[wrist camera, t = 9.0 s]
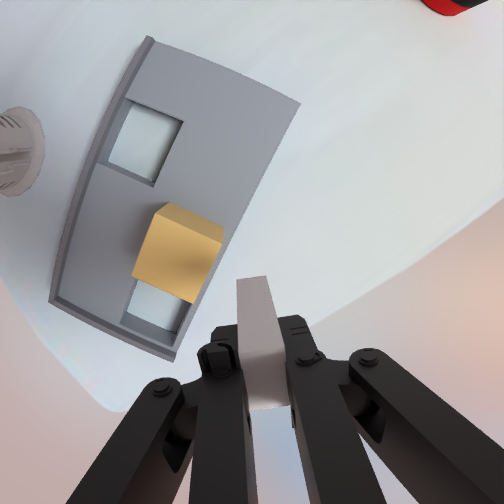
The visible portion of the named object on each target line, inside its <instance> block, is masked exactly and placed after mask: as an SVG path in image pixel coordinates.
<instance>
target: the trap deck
mask: <svg viewBox="0 0 504 504" xmlns="http://www.w3.org/2000/svg"><path fill="white" fill-rule="evenodd" d="M133 102H136V103H139V104H141V105H144V106H146V107H149V108H151V109H154V110H156V111H159V112H161V113H164V114H166V115H168V116H171V117H173V118H176V119H178V120H180V121H183V122H184V123H183V125H182V127H181V129H180V131H179V133H178V135H177V137H176V139H175V141H174V143H173V145H172V147H171V149H170V152H169V154H168V156H167V158H166V160H165V162H164V165H163V167H162V169H161V171H160V174H159V176H158V178H157V180H156V183H154V182H152V181H150V180H148V179H146V178H143V177H141V176H139V175H137V174H134V173H132V172H130V171H128V170H126V169H123V168H121V167H119V166H117V165H114V164H112V163H110V162H108V158H109V156H110V153H111V151H112V148H113V146H114V144H115V141H116V139H117V137H118V134H119V132H120V130H121V128H122V125H123V123H124V121H125V119H126V117H127V115H128V112H129V110H130V108H131V106H132V104H133ZM300 104H301V103H299V102H297V101H295V100H293V99H291V98H289V97H287V96H285V95H283V94H282V93H280V92H278V91H276V90H274V89H272V88H270V87H267V86H265V85H263V84H261V83H259V82H257V81H255V80H253V79H251V78H248V77H246V76H244V75H242V74H240V73H237V72H235V71H233V70H231V69H228V68H226V67H223V66H221V65H219V64H216V63H214V62H211V61H209V60H206V59H204V58H201V57H199V56H196V55H193V54H191V53H188V52H185V51H183V50H180V49H177V48H174V47H171V46H168V45H165V44H162V43H159V42H156V41H155V40H154V39H153V37H150V36H146V37H145V39H144V41H143V42H142V44H141V46H140V47H139V49H138V51H137V53H136V54H135V56H134V58H133V60H132V61H131V63H130V65H129V67H128V69H127V71H126V73H125V74H124V76H123V78H122V80H121V82H120V84H119V86H118V88H117V90H116V92H115V94H114V96H113V98H112V100H111V103H110V105H109V107H108V109H107V111H106V113H105V116H104V118H103V120H102V122H101V125H100V127H99V129H98V132H97V134H96V137H95V139H94V141H93V144H92V146H91V149H90V152H89V154H88V157H87V159H86V162H85V165H84V168H83V170H82V173H81V176H80V179H79V182H78V185H77V188H76V191H75V194H74V197H73V200H72V203H71V207H70V210H69V213H68V217H67V220H66V224H65V228H64V231H63V235H62V239H61V243H60V247H59V251H58V255H57V260H56V264H55V269H54V274H53V279H52V284H51V289H50V295H49V300H48V302H49V303H51V304H52V305H54V306H56V307H58V308H59V309H61V310H63V311H65V312H67V313H68V314H70V315H72V316H74V317H76V318H78V319H80V320H82V321H83V322H85V323H87V324H89V325H91V326H93V327H95V328H97V329H99V330H101V331H103V332H105V333H107V334H109V335H111V336H113V337H115V338H118V339H120V340H122V341H124V342H126V343H128V344H130V345H133V346H135V347H137V348H139V349H142V350H144V351H146V352H148V353H151V354H153V355H155V356H158V357H160V358H163V359H165V360H167V361H170V362H172V363H173V362H174V360H175V357H176V353H177V351H178V349H179V347H180V344H181V342H182V340H183V338H184V336H185V334H186V332H187V330H188V327H189V325H190V323H191V321H192V319H193V317H194V315H195V313H196V311H197V309H198V306H199V304H200V302H201V300H202V298H203V296H204V294H205V292H206V290H207V288H208V286H209V284H210V282H211V280H212V277H213V275H214V273H215V271H216V269H217V267H218V265H219V263H220V261H221V259H222V257H223V255H224V253H225V251H226V249H227V247H228V245H229V243H230V241H231V239H232V237H233V235H234V233H235V231H236V229H237V227H238V225H239V223H240V221H241V219H242V217H243V215H244V213H245V211H246V209H247V207H248V205H249V203H250V201H251V199H252V197H253V195H254V193H255V191H256V189H257V187H258V185H259V183H260V181H261V179H262V177H263V175H264V173H265V171H266V169H267V168H268V166H269V164H270V162H271V160H272V158H273V156H274V154H275V152H276V150H277V148H278V146H279V144H280V142H281V141H282V139H283V137H284V135H285V133H286V131H287V129H288V127H289V125H290V123H291V121H292V120H293V118H294V116H295V114H296V112H297V110H298V108H299V106H300ZM169 202H171V203H173V204H175V205H177V206H179V207H181V208H184V209H186V210H188V211H190V212H192V213H194V214H197V215H199V216H201V217H203V218H205V219H207V220H210V221H212V222H214V223H216V224H218V225H220V226H223V227H224V234H223V242H222V246H221V248H220V250H219V252H218V254H217V256H216V258H215V260H214V262H213V264H212V266H211V268H210V270H209V273H208V275H207V277H206V279H205V281H204V283H203V285H202V287H201V289H200V291H199V294H198V296H197V298H196V300H195V302H194V304H192V303H190V305H189V307H188V309H187V311H186V313H185V316H184V318H183V320H182V322H181V324H180V327H179V329H178V331H177V333H176V334H174V333H172V332H170V331H167V330H165V329H163V328H160V327H158V326H156V325H154V324H151V323H149V322H147V321H145V320H143V319H140V318H138V317H136V316H134V315H132V314H130V313H127V309H128V306H129V303H130V300H131V297H132V295H133V292H134V289H135V286H136V284H137V281H138V279H137V278H135V277H133V276H131V275H132V272H133V269H134V266H135V264H136V261H137V258H138V255H139V253H140V250H141V247H142V245H143V242H144V240H145V237H146V235H147V232H148V229H149V227H150V224H151V222H152V220H153V217H154V215H155V213H156V212H157V211H158V210H160V209H161V208H162V207H164V206H165V205H166V204H167V203H169Z"/></svg>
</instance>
